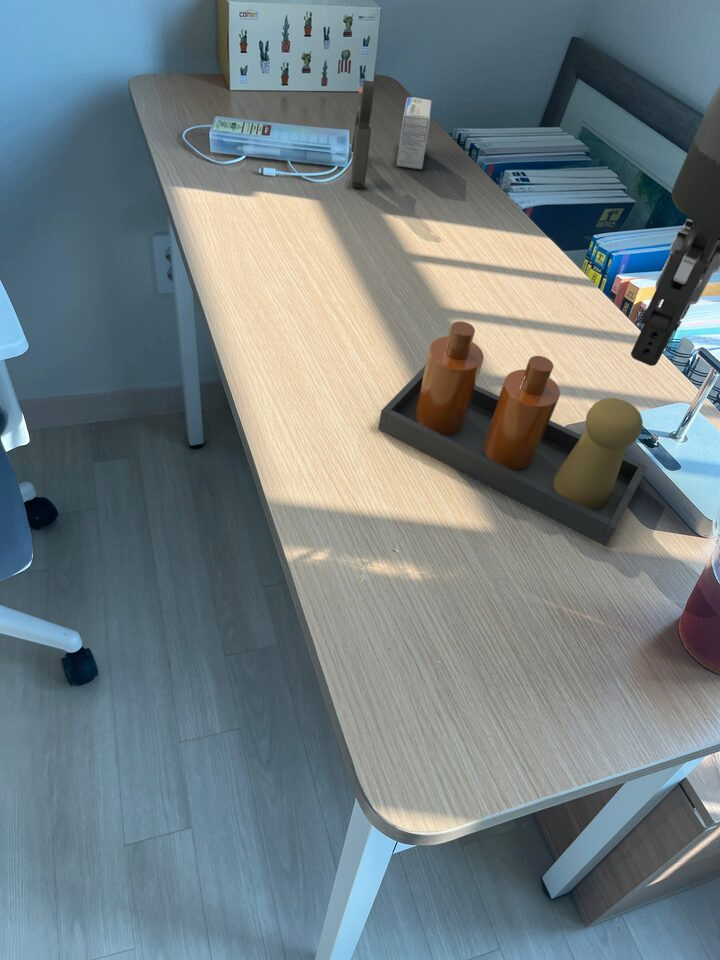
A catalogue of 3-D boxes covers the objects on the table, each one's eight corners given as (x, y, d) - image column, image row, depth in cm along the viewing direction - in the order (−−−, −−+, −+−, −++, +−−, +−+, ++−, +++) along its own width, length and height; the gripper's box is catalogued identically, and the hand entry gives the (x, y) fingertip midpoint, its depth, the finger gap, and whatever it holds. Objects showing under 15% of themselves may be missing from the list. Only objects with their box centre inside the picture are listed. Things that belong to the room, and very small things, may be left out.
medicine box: (421, 171, 127) (431, 118, 121) (395, 166, 127) (403, 113, 121) (424, 151, 133) (433, 99, 126) (398, 147, 133) (406, 95, 126)
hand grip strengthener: (363, 155, 129) (374, 60, 118) (364, 190, 120) (377, 91, 109) (349, 154, 128) (360, 58, 117) (350, 188, 120) (361, 89, 109)
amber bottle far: (473, 414, 85) (500, 326, 76) (450, 442, 81) (476, 352, 73) (429, 393, 86) (451, 305, 78) (405, 419, 83) (425, 329, 74)
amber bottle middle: (542, 448, 82) (578, 361, 74) (521, 478, 79) (557, 390, 70) (496, 426, 84) (526, 338, 75) (474, 454, 80) (503, 365, 72)
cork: (612, 515, 77) (656, 437, 69) (553, 503, 77) (590, 424, 69) (608, 473, 81) (649, 395, 73) (552, 462, 81) (587, 383, 73)
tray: (637, 484, 81) (647, 466, 79) (605, 546, 75) (616, 528, 73) (423, 381, 89) (428, 362, 87) (377, 429, 82) (381, 410, 80)
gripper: (786, 200, 47) (677, 397, 59) (819, 135, 56) (719, 317, 68) (671, 161, 50) (588, 358, 61) (720, 104, 59) (640, 285, 70)
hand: (657, 336), depth 65 cm, fingers open, 8 cm apart
